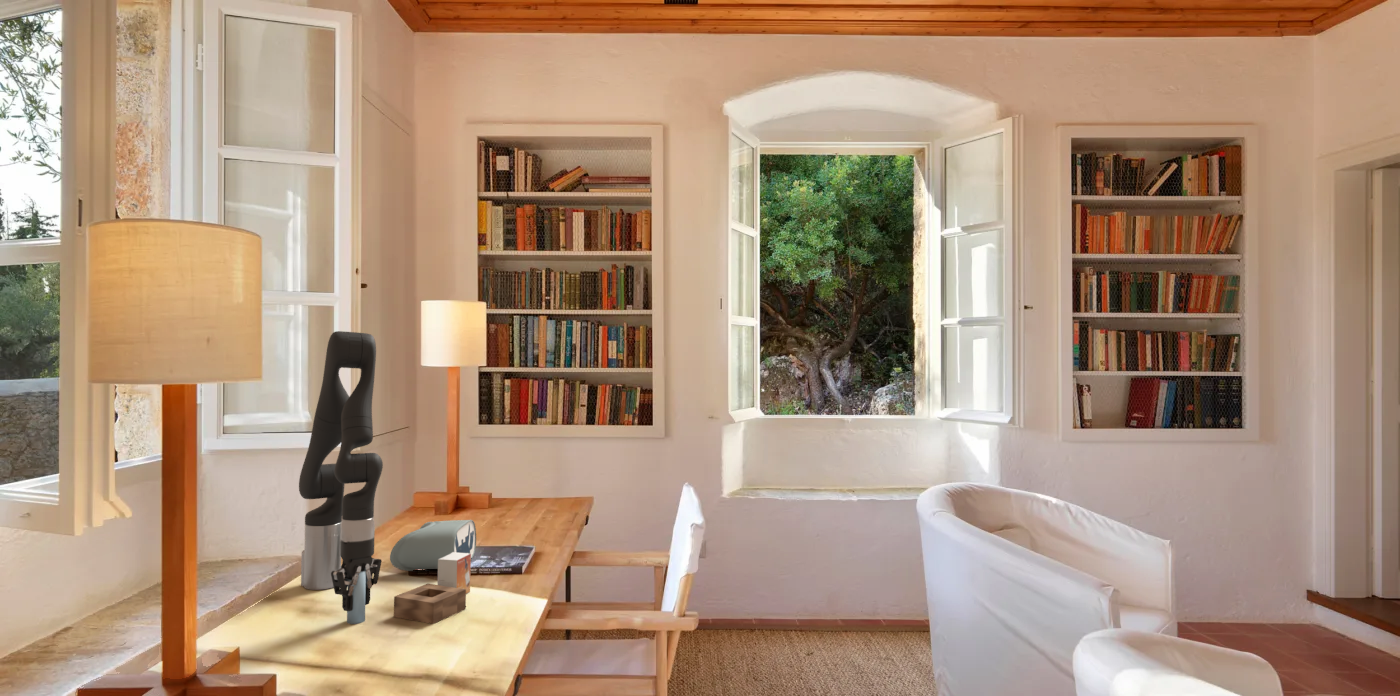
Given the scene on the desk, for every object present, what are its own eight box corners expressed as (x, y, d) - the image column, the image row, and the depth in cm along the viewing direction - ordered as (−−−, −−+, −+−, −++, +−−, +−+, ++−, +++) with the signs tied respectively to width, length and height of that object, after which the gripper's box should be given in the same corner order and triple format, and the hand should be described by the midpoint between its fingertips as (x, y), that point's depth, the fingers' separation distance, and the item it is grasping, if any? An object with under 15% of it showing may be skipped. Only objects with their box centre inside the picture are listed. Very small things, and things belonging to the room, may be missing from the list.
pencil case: (454, 576, 230) (453, 531, 230) (389, 577, 231) (388, 533, 231) (477, 556, 252) (475, 515, 252) (417, 558, 253) (416, 517, 253)
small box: (456, 600, 209) (456, 560, 209) (436, 599, 210) (437, 559, 210) (470, 591, 217) (471, 552, 217) (451, 590, 218) (452, 551, 218)
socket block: (393, 616, 195) (394, 596, 195) (427, 602, 206) (427, 583, 206) (433, 623, 191) (433, 603, 191) (465, 609, 202) (465, 589, 202)
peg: (343, 622, 191) (344, 572, 191) (355, 617, 195) (356, 568, 195) (356, 624, 189) (356, 574, 189) (368, 619, 193) (369, 570, 193)
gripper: (368, 528, 200) (366, 597, 200) (321, 541, 187) (320, 614, 187) (391, 531, 197) (390, 601, 197) (346, 544, 184) (344, 618, 184)
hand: (356, 607), depth 192 cm, fingers open, 4 cm apart
